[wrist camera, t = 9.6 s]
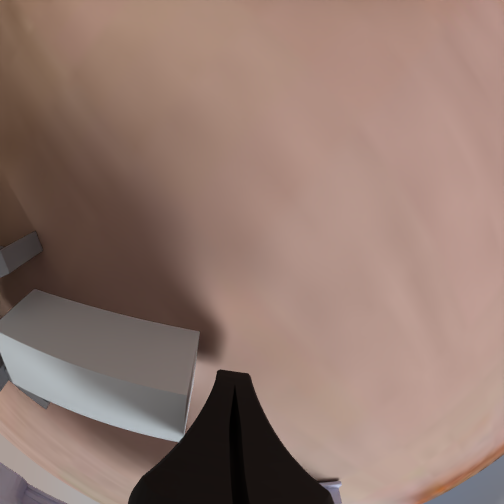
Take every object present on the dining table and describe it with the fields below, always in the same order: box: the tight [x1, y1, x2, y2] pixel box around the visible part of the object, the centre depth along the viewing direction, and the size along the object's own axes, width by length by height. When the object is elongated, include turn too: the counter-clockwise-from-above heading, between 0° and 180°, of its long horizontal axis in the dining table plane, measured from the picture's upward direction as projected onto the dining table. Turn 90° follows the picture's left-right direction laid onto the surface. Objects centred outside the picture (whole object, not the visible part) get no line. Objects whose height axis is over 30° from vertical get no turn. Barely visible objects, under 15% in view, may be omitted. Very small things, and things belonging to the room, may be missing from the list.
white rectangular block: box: [0, 289, 200, 442], centre depth 11 cm, size 9×4×4 cm, turn 78°
